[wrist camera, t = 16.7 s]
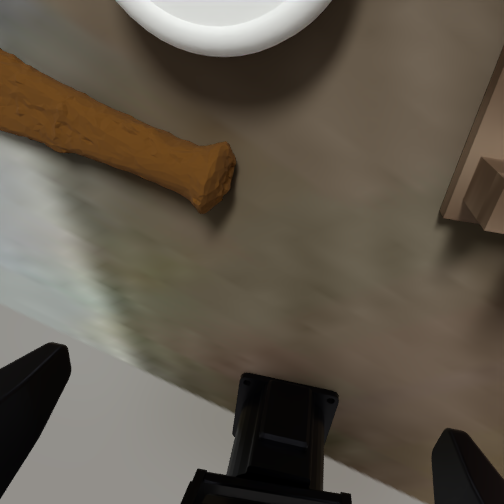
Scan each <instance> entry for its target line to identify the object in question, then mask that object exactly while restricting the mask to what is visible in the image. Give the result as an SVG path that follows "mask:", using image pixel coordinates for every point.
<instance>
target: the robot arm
mask: <svg viewBox="0 0 504 504" xmlns="http://www.w3.org/2000/svg"><path fill="white" fill-rule="evenodd" d="M70 374H71V364H70V358H69V352H68V348H67V346H66V345H63V344H58V343H54V342H51V343H47V344H45V345H43V346H41V347H39V348H37V349H36V350H34V351H32V352H30V353H28V354H26V355H25V356H23V357H21V358H19V359H17V360H15V361H14V362H12V363H10V364H8V365H7V366H5V367H3V368H1V369H0V499H1V497H2V495H3V494H4V492H5V491H6V489H7V487H8V486H9V484H10V483H11V481H12V480H13V478H14V476H15V475H16V473H17V472H18V470H19V468H20V467H21V465H22V464H23V462H24V461H25V459H26V458H27V456H28V454H29V453H30V451H31V450H32V448H33V447H34V445H35V443H36V442H37V440H38V438H39V437H40V435H41V433H42V431H43V429H44V427H45V425H46V423H47V421H48V419H49V417H50V415H51V413H52V411H53V409H54V407H55V405H56V403H57V401H58V399H59V397H60V395H61V393H62V391H63V389H64V387H65V385H66V384H67V382H68V380H69V377H70ZM247 380H248V381H247ZM330 398H332V399H330ZM338 403H339V395H338V394H337V393H336V392H334V391H331V390H326V389H322V388H317V387H312V386H308V385H303V384H298V383H294V382H289V381H284V380H280V379H275V378H270V377H266V376H261V375H256V374H252V373H243V374H242V375H241V378H240V382H239V390H238V397H237V404H236V411H235V418H234V425H233V433H232V434H233V436H234V437H235V440H234V444H233V449H232V453H231V457H230V461H229V466H228V471H227V474H226V475H223V474H216V473H211V472H207V470H203V469H197V471H196V474H195V476H194V478H193V481H190V483H189V485H188V488H187V490H186V493H185V495H184V497H183V499H182V502H181V504H352V501H351V494H349V493H343V492H341V493H340V494H338V493H332V492H326V491H323V469H324V467H323V466H324V444H325V441H326V438H327V435H328V432H329V429H330V426H331V423H332V420H333V418H334V415H335V412H336V409H337V406H338ZM432 472H433V486H434V500H435V504H504V479H503V478H502V477H501V475H500V474H499V473H498V472H497V470H496V469H495V468H494V467H493V465H492V464H491V463H490V461H489V460H488V459H487V458H486V456H485V455H484V454H483V453H482V451H481V450H480V449H479V448H478V446H477V445H476V444H475V442H474V441H473V440H472V439H471V437H470V436H469V435H468V434H467V433H466V432H464V431H461V430H456V429H451V428H446V429H445V430H444V431H443V432H442V434H441V436H440V438H439V439H438V441H437V443H436V445H435V446H434V448H433V451H432Z"/></svg>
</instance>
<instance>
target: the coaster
mask: <svg viewBox="0 0 504 504" xmlns="http://www.w3.org/2000/svg"><path fill="white" fill-rule="evenodd" d="M331 1H332V0H116V2H117V3H118V4H119V5H120V6H121V7H122V8H123V9H124V10H125V11H126V12H127V13H128V14H129V16H130V17H131V18H133V19H134V20H135V21H136V22H137V23H139V24H140V25H141V26H142V27H143V28H144V29H146V30H147V31H148V32H150V33H151V34H153V35H154V36H156V37H157V38H159V39H160V40H162V41H164V42H166V43H168V44H170V45H172V46H174V47H176V48H179V49H182V50H185V51H188V52H191V53H195V54H200V55H205V56H214V57H234V56H244V55H248V54H252V53H257V52H260V51H263V50H265V49H268V48H270V47H273V46H275V45H277V44H279V43H281V42H283V41H285V40H287V39H288V38H290V37H292V36H294V35H296V34H297V33H298V32H300V31H301V30H302V29H304V28H305V27H307V26H308V25H309V24H311V23H312V22H313V21H314V20H315V19H316V18H317V17H318V16H319V15H320V14H321V13H322V12H323V11H324V10H325V8H326V7H327V6H328V5H329V3H330V2H331Z"/></svg>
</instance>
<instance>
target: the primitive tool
mask: <svg viewBox="0 0 504 504" xmlns="http://www.w3.org/2000/svg"><path fill="white" fill-rule="evenodd" d="M0 130H1V131H5V132H8V133H12V134H15V135H18V136H24V137H27V138H29V139H31V140H35V141H38V142H41V143H45V145H46V146H48V147H50V148H52V149H53V150H54V151H57V152H60V153H76V154H79V155H81V156H85V157H87V158H90V159H93V160H95V161H98V162H101V163H102V162H103V163H106V164H108V165H110V166H112V167H115V168H118V169H121V170H124V171H128V172H131V173H133V174H136V175H138V176H140V177H142V178H143V179H146V180H148V181H152V182H155V183H157V184H159V185H161V186H163V187H165V188H167V189H170V190H172V191H175V192H177V193H179V194H181V195H182V196H184V197H186V198H187V199H188V200H189V201H191V203H192V205H193V206H194V207H195V208H196V209H197V211H198V212H199V213H200V214H205V213H206V212H208V211H209V210H211V209H212V208H213V207H214V206H215V205H217V204H218V203H219V202H220V201H222V200H223V199H222V197H223V195H225V194H226V193H227V192H228V191H229V189H230V182H231V179H232V176H233V172H234V168H235V165H236V158H235V156H234V154H233V153H232V150H231V147H230V145H229V144H228V143H227V142H226V141H225V142H220V143H216V144H213V145H208V146H198V145H196V144H194V143H192V142H190V141H186V140H182V139H179V138H177V137H175V136H174V135H172V134H171V133H169V132H166V131H164V130H161V129H157V128H154V127H152V126H150V125H147V124H145V123H143V122H141V121H139V120H136V119H135V118H134V117H132V116H130V115H128V114H125V113H122V112H120V111H117V110H114V109H112V108H110V107H108V106H106V105H104V104H102V103H100V102H98V101H96V100H94V99H93V98H91V97H89V96H88V95H87V94H85V93H82V92H79V91H76V90H75V89H73V88H71V87H69V86H67V85H64V84H62V83H60V82H58V81H57V80H55V79H53V78H51V77H49V76H47V75H45V74H43V73H41V72H39V71H38V70H36V69H35V68H33V67H32V66H30V65H26V64H25V63H24V62H22V61H21V60H20V59H19V58H17V57H16V56H15V55H14V54H9V53H7V52H4V51H3V50H2V49H1V48H0Z"/></svg>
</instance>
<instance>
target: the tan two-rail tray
mask: <svg viewBox="0 0 504 504" xmlns="http://www.w3.org/2000/svg"><path fill="white" fill-rule="evenodd" d="M440 213H441V214H442V216H443V218H447V219H452V220H458V221H464V222H470V223H476V224H480V225H481V227H482V228H483V230H484V231H490V232H496V233H502V234H504V47H503V49H502V52H501V54H500V57H499V60H498V62H497V65H496V67H495V70H494V72H493V75H492V77H491V80H490V83H489V85H488V88H487V90H486V93H485V95H484V98H483V101H482V103H481V106H480V108H479V111H478V113H477V116H476V118H475V121H474V124H473V126H472V129H471V131H470V134H469V136H468V139H467V142H466V144H465V147H464V149H463V152H462V154H461V157H460V160H459V162H458V165H457V167H456V170H455V172H454V175H453V177H452V180H451V183H450V185H449V188H448V190H447V193H446V195H445V198H444V201H443V203H442V206H441V208H440Z"/></svg>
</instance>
